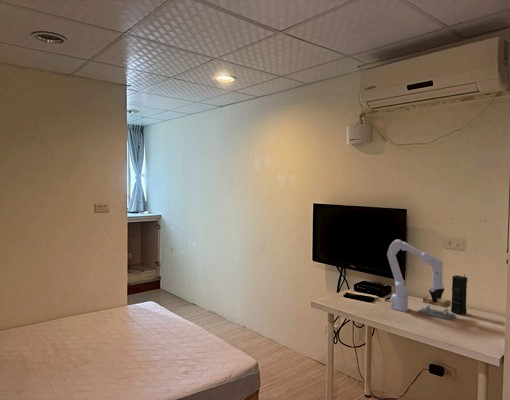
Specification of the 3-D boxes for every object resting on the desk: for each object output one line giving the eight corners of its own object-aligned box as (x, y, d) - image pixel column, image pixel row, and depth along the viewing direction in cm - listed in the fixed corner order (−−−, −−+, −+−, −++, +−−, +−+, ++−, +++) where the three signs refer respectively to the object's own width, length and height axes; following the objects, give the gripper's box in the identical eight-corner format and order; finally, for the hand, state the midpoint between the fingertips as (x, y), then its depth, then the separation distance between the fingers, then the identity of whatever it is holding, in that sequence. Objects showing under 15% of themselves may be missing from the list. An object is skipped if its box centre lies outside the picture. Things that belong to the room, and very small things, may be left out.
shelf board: (423, 302, 229) (423, 297, 229) (426, 300, 233) (426, 295, 233) (447, 307, 219) (447, 302, 219) (450, 305, 223) (450, 300, 223)
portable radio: (448, 311, 232) (449, 271, 231) (455, 310, 235) (456, 270, 233) (460, 315, 225) (461, 274, 224) (467, 313, 228) (468, 273, 226)
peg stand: (417, 312, 230) (418, 306, 229) (424, 309, 236) (424, 302, 236) (449, 320, 217) (449, 313, 216) (455, 316, 223) (455, 309, 223)
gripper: (439, 282, 218) (438, 305, 218) (448, 278, 228) (447, 299, 228) (427, 280, 223) (426, 302, 223) (436, 276, 233) (436, 297, 233)
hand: (436, 301), depth 226 cm, fingers closed on shelf board, 5 cm apart
